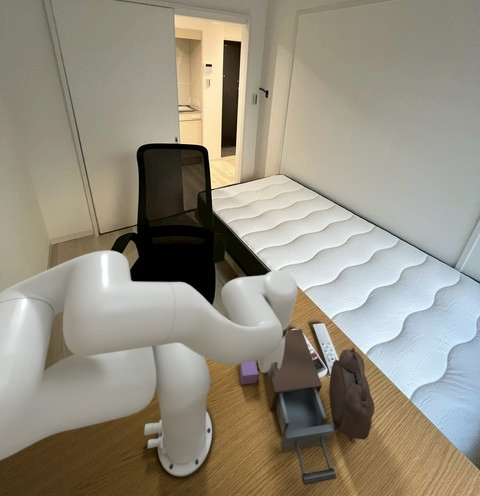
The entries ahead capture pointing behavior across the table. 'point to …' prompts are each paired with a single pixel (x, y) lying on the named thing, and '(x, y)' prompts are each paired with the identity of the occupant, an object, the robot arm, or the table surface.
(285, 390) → the brown drawer cabinet
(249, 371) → the purple cube
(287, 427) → the tray
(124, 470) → the table surface
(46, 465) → the table surface
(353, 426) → the brown beanbag pouch
